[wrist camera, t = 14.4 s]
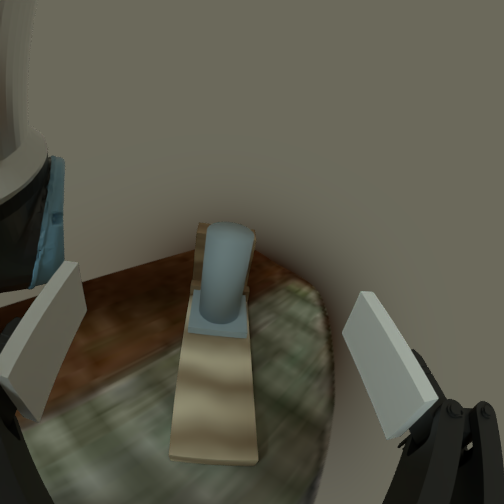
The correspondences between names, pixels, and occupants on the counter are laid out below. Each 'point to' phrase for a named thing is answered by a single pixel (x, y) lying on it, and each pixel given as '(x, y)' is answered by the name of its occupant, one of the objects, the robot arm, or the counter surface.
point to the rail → (214, 390)
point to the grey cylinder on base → (223, 282)
